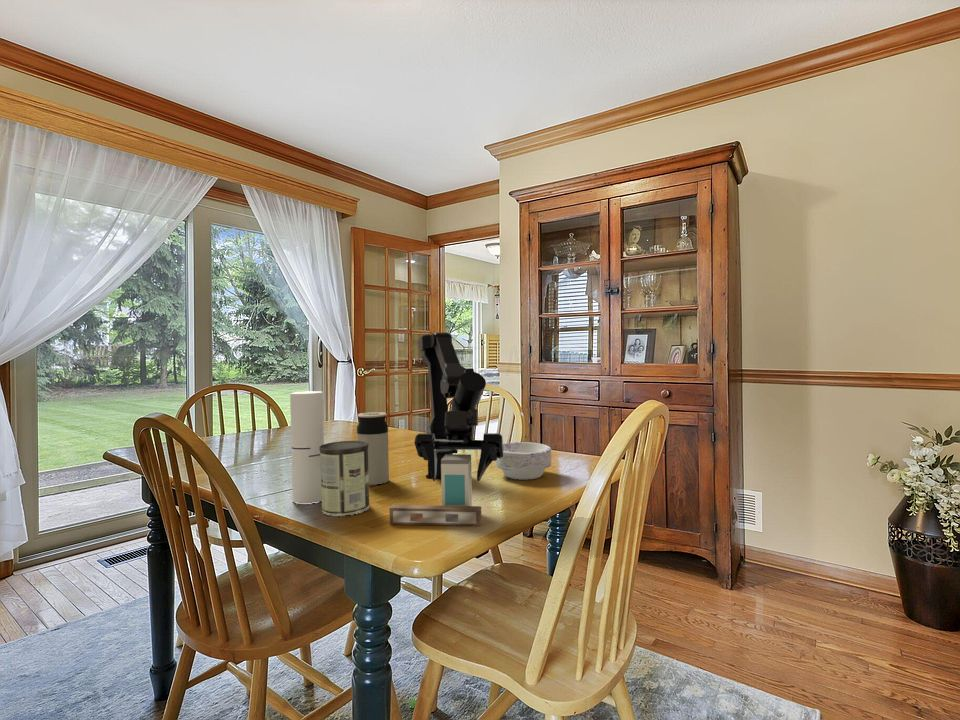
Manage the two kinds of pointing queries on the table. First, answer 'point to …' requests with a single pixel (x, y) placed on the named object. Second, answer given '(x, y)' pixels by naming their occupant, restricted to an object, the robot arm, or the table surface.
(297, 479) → the cylindrical container
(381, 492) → the table surface
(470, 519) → the brown wooden bar
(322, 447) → the coffee can
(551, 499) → the table surface
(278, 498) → the table surface
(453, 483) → the carton
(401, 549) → the table surface
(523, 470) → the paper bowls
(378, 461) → the travel mug
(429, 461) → the robot arm
